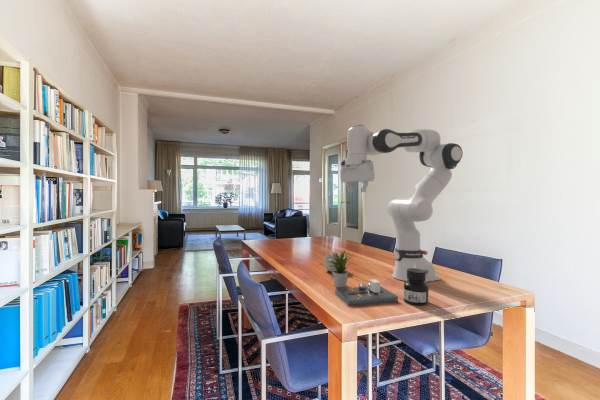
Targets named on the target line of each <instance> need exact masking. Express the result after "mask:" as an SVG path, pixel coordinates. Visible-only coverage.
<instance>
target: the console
mask: <svg viewBox="0 0 600 400" xmlns="http://www.w3.org/2000/svg"><path fill="white" fill-rule="evenodd" d="M334 292H335V293H334V294H335V295H336V297H338V298H339V299H340V300H341V301H343V302H344V303H345V304H346V305H347V307H354V306H355V307H356V306H364V305H365V306H366V305H368V306H369V305H376V304H377V305H378V304H379V305H380V304H391V303H398V302H399V298H398V297H399V296H397V295H396V294H394V293H392V292H391V291H389V290H388V289H386V288H385V287H383V286H382V285H380V292H378V293H374V292H372V291H371V290H370V282H368V283H367V286H366V283H364V282H360V283H359V284H358V287H338V288H335V290H334Z"/></svg>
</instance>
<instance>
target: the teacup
mask: <svg viewBox="0 0 600 400" xmlns="http://www.w3.org/2000/svg"><path fill="white" fill-rule="evenodd" d="M340 255H341V254H340ZM340 255H339V254H338V256H339V258H340ZM333 256H334V254H333V253H331V254H328V255H327V254H324V268H325V269H326V270H327V271H328V272H330V273H332V271H334V270H337V269H336V268H335V267H334V266H332V267H330V268H329V265H334V264H333V263H330V262H327V261H331V260H332V261H333V262H334V261H335V262H336V260H335V259H334V257H333ZM335 256H336V255H335ZM331 257H332V258H333V259H332V258H331ZM344 258H345V256H344ZM344 258H343V260H344ZM328 263H329V264H328ZM336 263H337V262H336ZM327 266H328V267H327Z"/></svg>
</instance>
